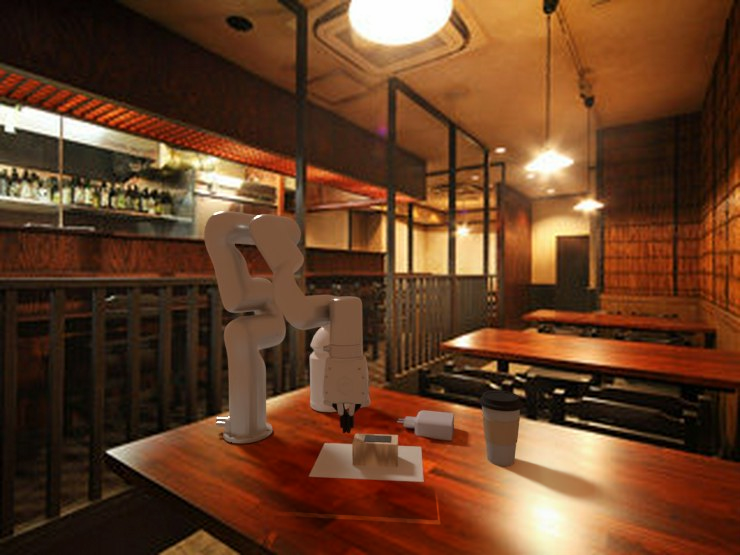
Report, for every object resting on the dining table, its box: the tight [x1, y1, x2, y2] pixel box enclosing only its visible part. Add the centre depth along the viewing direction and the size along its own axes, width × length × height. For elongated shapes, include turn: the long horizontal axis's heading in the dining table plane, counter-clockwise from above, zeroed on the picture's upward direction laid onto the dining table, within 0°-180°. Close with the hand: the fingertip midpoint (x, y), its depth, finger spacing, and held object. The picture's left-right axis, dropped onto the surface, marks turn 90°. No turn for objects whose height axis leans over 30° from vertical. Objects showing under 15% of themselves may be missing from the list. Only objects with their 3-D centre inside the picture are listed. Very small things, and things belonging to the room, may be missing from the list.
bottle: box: [309, 325, 350, 413], centre depth 128 cm, size 14×14×28 cm
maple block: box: [351, 433, 399, 467], centre depth 90 cm, size 5×5×10 cm
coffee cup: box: [478, 389, 523, 467], centre depth 91 cm, size 9×9×15 cm
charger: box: [396, 409, 455, 442], centre depth 107 cm, size 5×9×15 cm
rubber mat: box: [308, 442, 425, 483], centre depth 90 cm, size 24×16×1 cm, turn 84°
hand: (347, 430), depth 90 cm, fingers closed
